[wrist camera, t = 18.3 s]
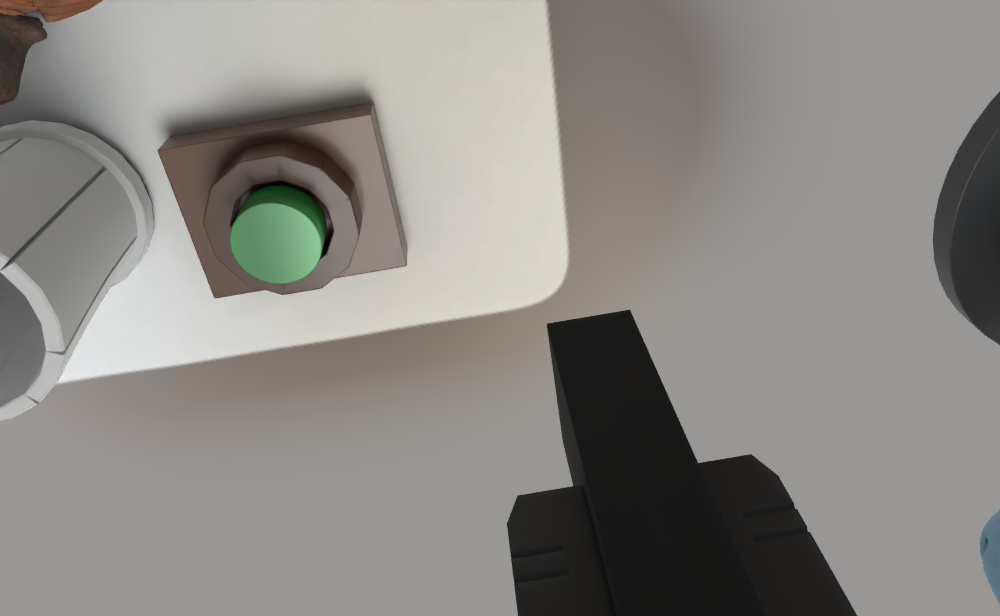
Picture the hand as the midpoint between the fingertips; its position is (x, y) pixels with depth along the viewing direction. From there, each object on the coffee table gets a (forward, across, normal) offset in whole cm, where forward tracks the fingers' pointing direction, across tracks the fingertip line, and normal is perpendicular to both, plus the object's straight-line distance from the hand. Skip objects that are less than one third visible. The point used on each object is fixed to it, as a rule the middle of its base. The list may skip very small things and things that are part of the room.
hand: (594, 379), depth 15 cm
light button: (+23, -11, -5) cm, 26 cm away
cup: (+27, -23, -3) cm, 35 cm away
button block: (+26, -11, -5) cm, 29 cm away
